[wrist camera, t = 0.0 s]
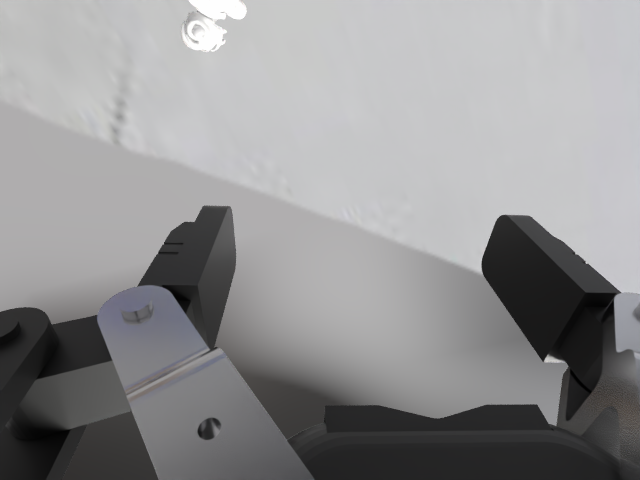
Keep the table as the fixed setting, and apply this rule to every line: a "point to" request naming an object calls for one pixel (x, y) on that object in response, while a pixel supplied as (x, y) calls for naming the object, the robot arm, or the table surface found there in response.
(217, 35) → the flower shoulder figurine
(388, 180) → the table surface
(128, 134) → the table surface
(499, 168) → the table surface
